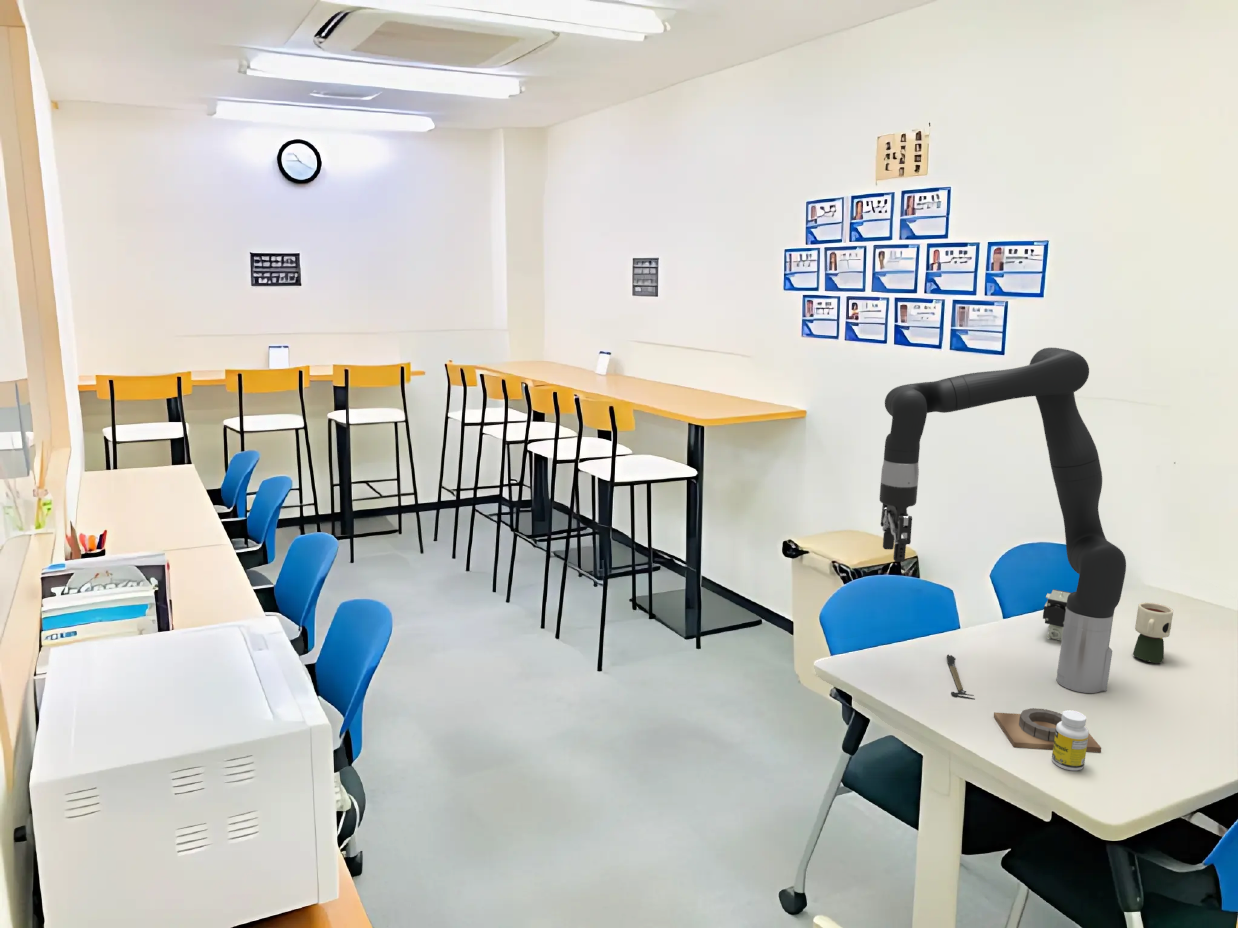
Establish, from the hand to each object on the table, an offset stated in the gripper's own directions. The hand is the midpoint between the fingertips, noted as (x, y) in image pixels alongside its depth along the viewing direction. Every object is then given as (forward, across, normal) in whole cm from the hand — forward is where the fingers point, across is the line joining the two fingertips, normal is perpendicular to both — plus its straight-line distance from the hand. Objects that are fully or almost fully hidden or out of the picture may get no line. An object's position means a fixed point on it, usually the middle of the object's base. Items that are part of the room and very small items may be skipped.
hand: (893, 554), depth 198 cm
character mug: (+29, +14, -66) cm, 73 cm away
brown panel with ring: (+29, -24, -26) cm, 45 cm away
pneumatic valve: (+29, +26, -49) cm, 63 cm away
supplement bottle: (+29, -35, -25) cm, 51 cm away
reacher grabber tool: (+29, +1, -18) cm, 34 cm away
